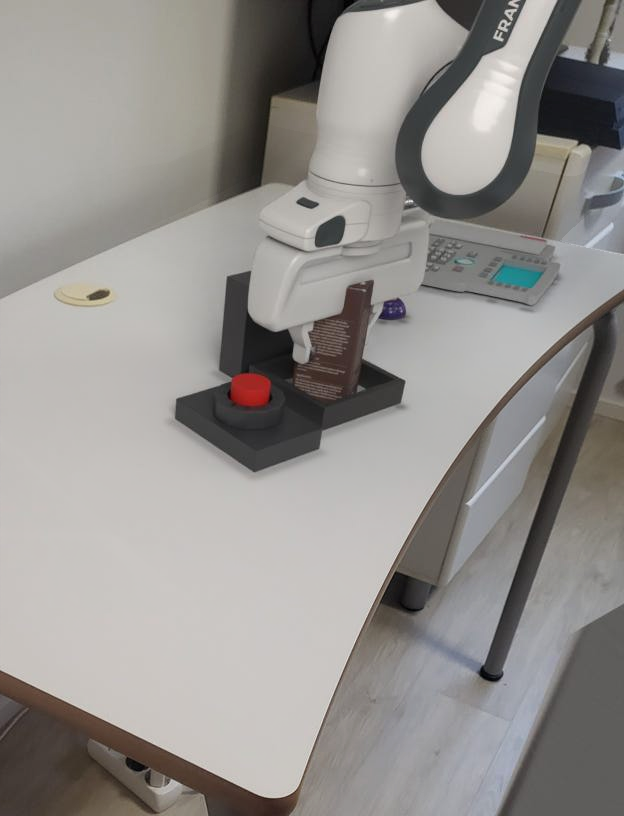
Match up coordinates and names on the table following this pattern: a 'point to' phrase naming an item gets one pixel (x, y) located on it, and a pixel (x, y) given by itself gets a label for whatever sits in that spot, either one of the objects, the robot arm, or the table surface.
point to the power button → (250, 389)
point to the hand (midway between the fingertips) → (329, 352)
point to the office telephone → (488, 262)
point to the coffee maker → (273, 359)
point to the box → (337, 348)
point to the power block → (249, 427)
